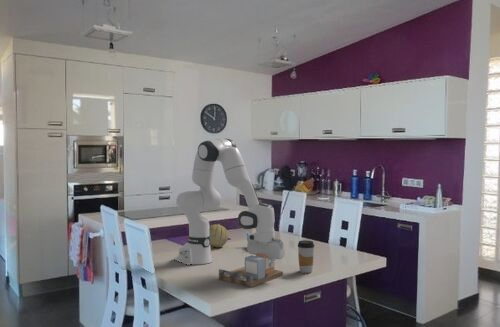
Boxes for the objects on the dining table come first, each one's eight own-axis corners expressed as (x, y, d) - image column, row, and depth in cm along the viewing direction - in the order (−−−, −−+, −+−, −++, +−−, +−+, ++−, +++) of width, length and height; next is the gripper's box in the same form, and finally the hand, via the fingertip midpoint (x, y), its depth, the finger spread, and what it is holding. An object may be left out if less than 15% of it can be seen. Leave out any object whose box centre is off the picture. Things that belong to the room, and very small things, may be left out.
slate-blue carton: (251, 274, 200) (251, 255, 200) (265, 277, 195) (265, 258, 195) (244, 276, 196) (244, 257, 196) (257, 280, 191) (257, 260, 191)
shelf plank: (218, 279, 199) (218, 269, 199) (251, 268, 218) (251, 259, 218) (250, 287, 186) (250, 277, 186) (282, 275, 205) (282, 266, 205)
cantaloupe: (202, 249, 262) (202, 225, 262) (207, 244, 277) (207, 221, 276) (226, 250, 260) (225, 225, 260) (229, 245, 275) (229, 222, 274)
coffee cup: (317, 272, 209) (317, 242, 209) (302, 274, 207) (302, 244, 206) (309, 268, 217) (309, 239, 217) (294, 270, 214) (294, 240, 214)
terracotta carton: (256, 272, 203) (256, 254, 203) (266, 269, 209) (266, 251, 209) (264, 274, 200) (264, 255, 199) (274, 271, 206) (274, 252, 206)
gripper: (286, 238, 200) (286, 267, 200) (253, 233, 213) (253, 260, 213) (279, 240, 195) (279, 270, 195) (245, 235, 208) (245, 263, 208)
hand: (265, 265), depth 204 cm, fingers closed on terracotta carton, 5 cm apart
